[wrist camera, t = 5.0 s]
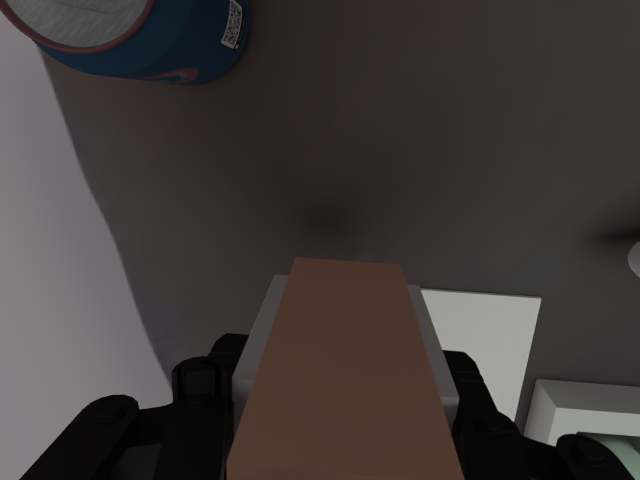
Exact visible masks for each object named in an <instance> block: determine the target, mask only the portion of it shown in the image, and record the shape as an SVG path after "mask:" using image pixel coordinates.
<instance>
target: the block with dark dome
mask: <svg viewBox="0 0 640 480" xmlns="http://www.w3.org/2000/svg"><path fill="white" fill-rule="evenodd" d="M226 463H227V480H464V476H463V473H462V470H461V466H460V463H459V459H458V456H457V453H456V449H455V446H454V443H453V439H452V436H451V433H450V429H449V426H448V422H447V419H446V416H445V412H444V409H443V406H442V402H441V399H440V395H439V392H438V389H437V385H436V382H435V379H434V375H433V372H432V369H431V365H430V362H429V358H428V355H427V352H426V348H425V345H424V342H423V338H422V335H421V331H420V328H419V325H418V321H417V318H416V315H415V311H414V308H413V305H412V301H411V298H410V294H409V291H408V288H407V284H406V281H405V278H404V274H403V271H402V268H401V265H399V264H385V263H371V262H358V261H344V260H330V259H317V258H303V257H295V259H294V262H293V265H292V268H291V271H290V274H289V277H288V280H287V283H286V286H285V289H284V292H283V295H282V298H281V301H280V304H279V307H278V310H277V313H276V316H275V319H274V322H273V325H272V328H271V331H270V334H269V337H268V340H267V343H266V346H265V349H264V352H263V355H262V358H261V361H260V364H259V367H258V370H257V373H256V376H255V379H254V382H253V385H252V388H251V391H250V394H249V397H248V400H247V402H246V405H245V408H244V411H243V414H242V417H241V420H240V423H239V426H238V429H237V432H236V435H235V438H234V441H233V444H232V447H231V450H230V453H229V456H228V459H227V462H226Z"/></svg>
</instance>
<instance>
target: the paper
mask: <svg viewBox="0 0 640 480" xmlns="http://www.w3.org/2000/svg"><path fill="white" fill-rule="evenodd" d="M420 289H421V292H422V295H423V297H424V300H425V303H426V306H427V309H428V311H429V314H430V317H431V320H432V323H433V325H434V328H435V331H436V334H437V337H438V339H439V342H440V345H441V348H442V350H450V351H462V352H465V353H466V354H467V355H468V356H470V357H471V358H472V359H473V360H474V361H475V362H476V364H477V367H478V369H479V371H480V374H481V375H482V377H483V380H484V383H485V384H486V386H487V388H488V390H489V392H490V395H491V397H492V399H493V401H494V403H495V405H496V408H497V410H498V411H499V412H501V413H502V414H504V415H506V416H508V417H509V418H510V419H511V420H512V421H513V422H514V419H515V415H516V410H517V406H518V401H519V397H520V392H521V388H522V383H523V379H524V374H525V370H526V365H527V361H528V356H529V352H530V348H531V343H532V339H533V334H534V330H535V325H536V321H537V316H538V312H539V307H540V303H541V298H540V297H537V296H523V295H510V294H496V293H482V292H468V291H455V290H441V289H427V288H420Z"/></svg>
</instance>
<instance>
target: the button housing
mask: <svg viewBox="0 0 640 480" xmlns="http://www.w3.org/2000/svg"><path fill="white" fill-rule="evenodd" d="M577 431H578V432H591V433H603V434H615V435H623V436H624V437H625V438H626V439H627V440H628V441H629V443H630V444H631V445H632V446H633V447H634V449H635V450H636V451H637V452H638V453H639V455H640V387H634V386H621V385H609V384H596V383H583V382H571V381H558V380H545V379H536V383H535V387H534V391H533V396H532V400H531V404H530V409H529V413H528V417H527V421H526V426H525V430H524V434H523V436H525V437H528V438H530V439H533V440H536V441H539V442H542V443H545V444H549V445H552V446H556V443H557V439H558V438H559V437H561V436H562V435H564V434H576V433H577Z"/></svg>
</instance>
